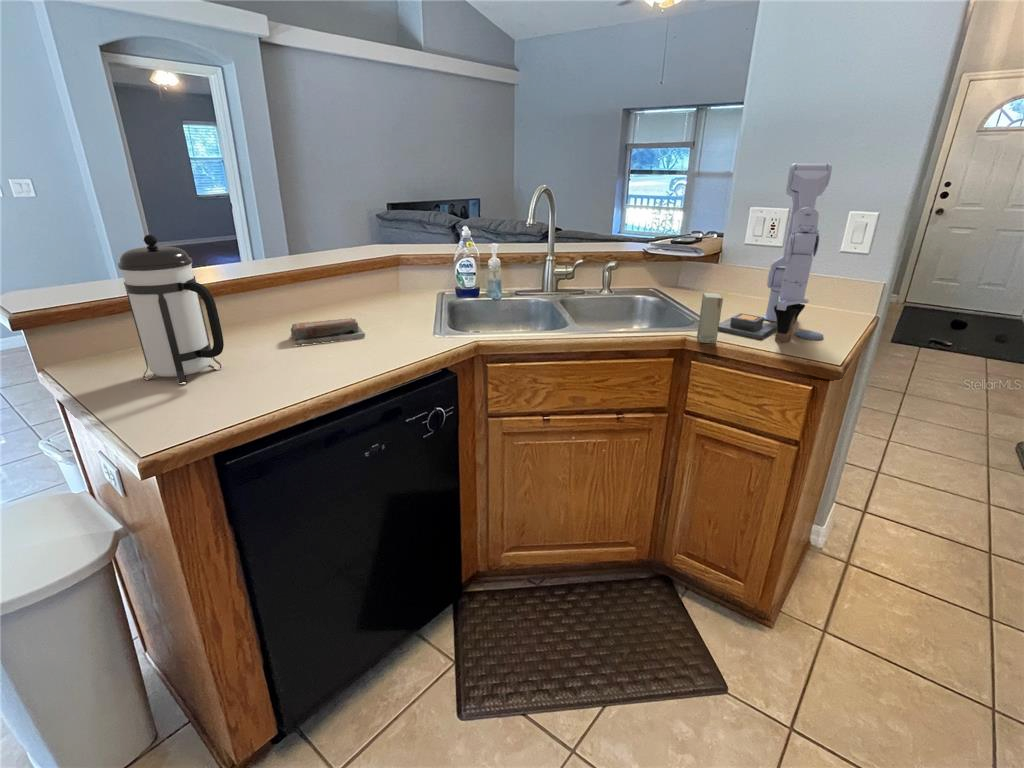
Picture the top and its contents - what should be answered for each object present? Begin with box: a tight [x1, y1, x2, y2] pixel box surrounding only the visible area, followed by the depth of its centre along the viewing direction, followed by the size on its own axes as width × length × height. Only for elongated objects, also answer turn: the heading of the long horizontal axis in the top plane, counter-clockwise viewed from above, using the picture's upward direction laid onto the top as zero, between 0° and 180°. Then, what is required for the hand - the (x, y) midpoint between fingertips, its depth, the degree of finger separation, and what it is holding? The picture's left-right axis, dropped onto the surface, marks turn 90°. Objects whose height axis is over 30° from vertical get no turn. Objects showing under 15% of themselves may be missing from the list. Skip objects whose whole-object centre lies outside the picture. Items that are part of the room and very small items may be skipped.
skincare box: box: [696, 292, 724, 344], centre depth 140 cm, size 6×4×12 cm
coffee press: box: [117, 234, 225, 384], centre depth 111 cm, size 17×16×30 cm
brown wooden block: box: [774, 315, 796, 344], centre depth 141 cm, size 3×3×7 cm
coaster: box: [794, 329, 824, 341], centre depth 146 cm, size 7×7×1 cm
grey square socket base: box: [718, 312, 777, 341], centre depth 151 cm, size 13×13×4 cm
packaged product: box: [290, 317, 366, 346], centre depth 142 cm, size 18×5×10 cm
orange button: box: [737, 314, 760, 321], centre depth 150 cm, size 4×4×1 cm
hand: (784, 331), depth 141 cm, fingers closed on brown wooden block, 3 cm apart
